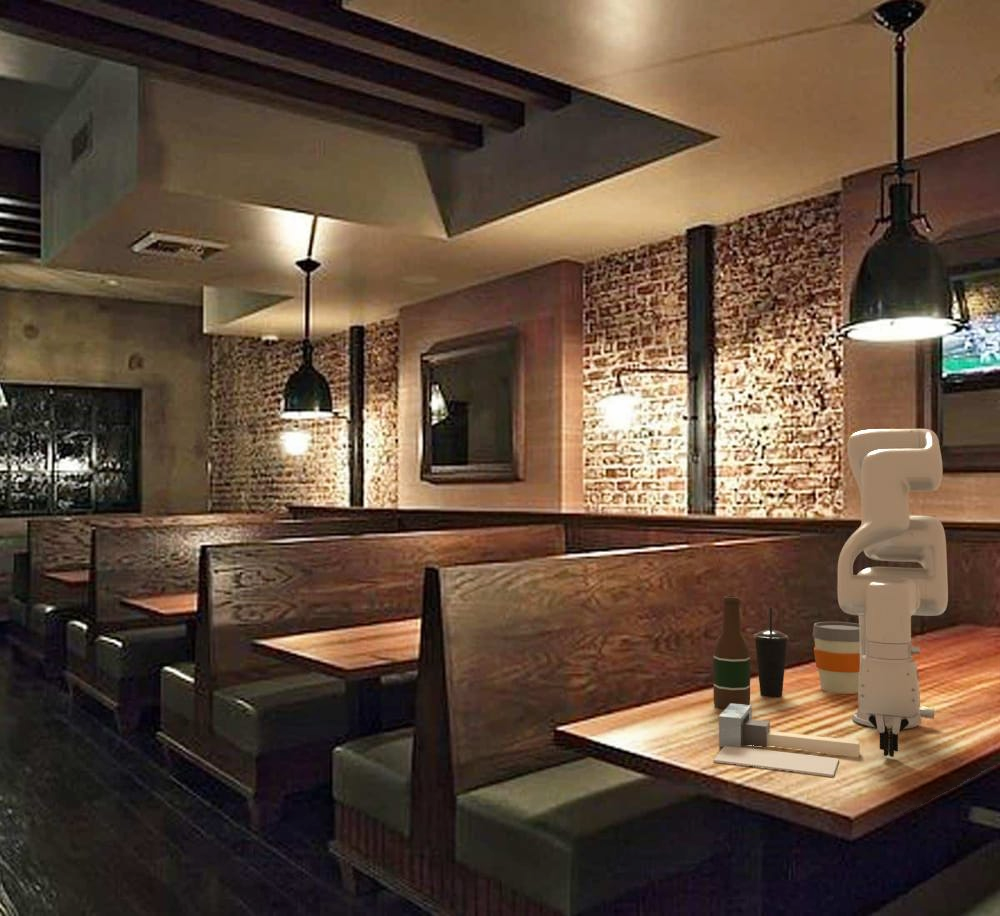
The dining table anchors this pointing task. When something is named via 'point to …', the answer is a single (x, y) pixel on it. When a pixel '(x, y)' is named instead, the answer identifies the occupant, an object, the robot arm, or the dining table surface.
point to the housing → (733, 724)
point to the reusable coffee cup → (837, 656)
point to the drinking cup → (771, 660)
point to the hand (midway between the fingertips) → (888, 754)
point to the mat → (778, 760)
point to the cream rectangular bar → (796, 740)
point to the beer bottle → (731, 659)
